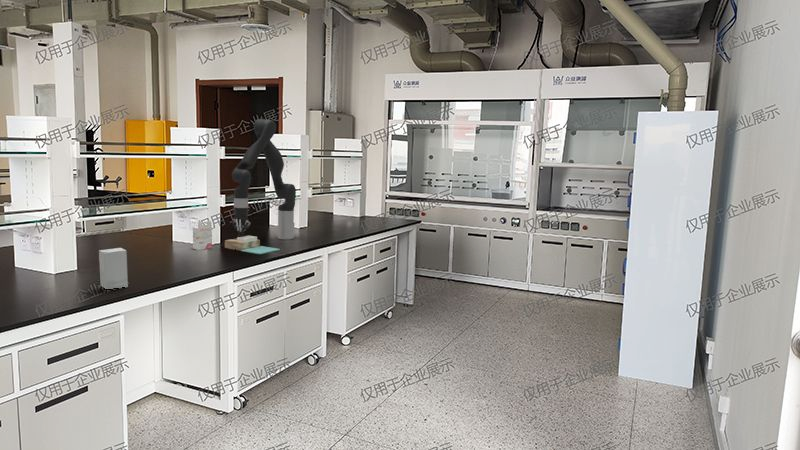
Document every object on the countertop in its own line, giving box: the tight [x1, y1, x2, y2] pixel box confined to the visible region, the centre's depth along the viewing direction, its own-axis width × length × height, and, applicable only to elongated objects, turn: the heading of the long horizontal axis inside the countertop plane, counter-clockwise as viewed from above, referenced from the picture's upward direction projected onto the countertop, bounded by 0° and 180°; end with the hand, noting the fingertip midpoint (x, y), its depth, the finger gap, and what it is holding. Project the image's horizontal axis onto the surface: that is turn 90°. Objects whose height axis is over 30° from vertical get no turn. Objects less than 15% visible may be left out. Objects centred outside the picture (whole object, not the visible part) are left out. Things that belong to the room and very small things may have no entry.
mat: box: [240, 245, 281, 255], centre depth 297 cm, size 16×13×1 cm
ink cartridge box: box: [192, 220, 213, 251], centre depth 294 cm, size 9×5×15 cm, turn 143°
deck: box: [224, 237, 261, 251], centre depth 303 cm, size 14×12×4 cm
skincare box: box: [98, 247, 129, 290], centre depth 211 cm, size 8×6×15 cm
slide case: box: [236, 235, 258, 243], centre depth 301 cm, size 9×6×2 cm, turn 153°
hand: (240, 238), depth 303 cm, fingers closed
